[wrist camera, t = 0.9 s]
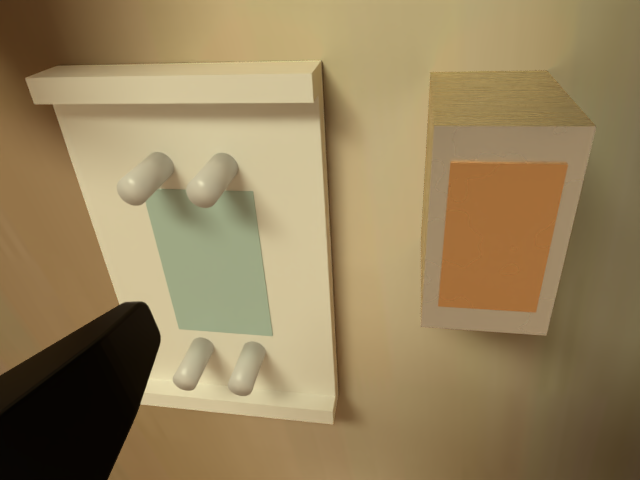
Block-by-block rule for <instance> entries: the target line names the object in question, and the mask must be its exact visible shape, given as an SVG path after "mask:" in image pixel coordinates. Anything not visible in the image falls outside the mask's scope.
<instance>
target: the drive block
mask: <svg viewBox="0 0 640 480" xmlns="http://www.w3.org/2000/svg"><path fill="white" fill-rule="evenodd" d="M595 130H596V126H595V124H594V123H593V122H592V121H591V120H590V119H589V118H588V116H587V115H586V114H585V113H584V112H583V111H582V110H581V108H580V107H579V106H578V105H577V104H576V103H575V102H574V101H573V99H572V98H571V97H570V96H569V95H568V94H567V93H566V91H565V90H564V89H563V88H562V87H561V86H560V85H559V83H558V82H557V81H556V80H555V79H554V78H553V77H552V76H551V74H550V73H549V72H548V71H547V70H532V71H468V72H430V88H429V105H428V123H427V140H426V157H425V174H424V191H423V209H422V226H421V327H431V328H445V329H459V330H474V331H488V332H502V333H517V334H531V335H545V336H546V335H547V331H548V327H549V323H550V319H551V314H552V310H553V306H554V302H555V298H556V293H557V289H558V285H559V281H560V277H561V272H562V268H563V264H564V260H565V256H566V252H567V247H568V243H569V239H570V235H571V231H572V226H573V222H574V218H575V214H576V210H577V205H578V201H579V197H580V193H581V189H582V185H583V180H584V176H585V172H586V168H587V164H588V159H589V155H590V151H591V147H592V143H593V138H594V134H595Z"/></svg>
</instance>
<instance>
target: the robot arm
mask: <svg viewBox="0 0 640 480" xmlns="http://www.w3.org/2000/svg"><path fill="white" fill-rule="evenodd" d="M160 342H161V335H160V331H159V329H158V326H157V324H156V322H155V320H154V317H153V315H152V313H151V310H150V308H149V306H148V305H147V304H146V303H145V302H142V301H132V302H124V303H122V304H120V305H118V306H117V307H115V308H113V309H112V310H110V311H108V312H106V313H105V314H103V315H101V316H100V317H98V318H96V319H95V320H93V321H91V322H90V323H88V324H86V325H85V326H83V327H81V328H80V329H78V330H76V331H74V332H73V333H71V334H69V335H68V336H66V337H64V338H63V339H61V340H59V341H58V342H56V343H54V344H53V345H51V346H49V347H48V348H46V349H44V350H42V351H41V352H39V353H37V354H36V355H34V356H32V357H31V358H29V359H27V360H26V361H24V362H22V363H21V364H19V365H17V366H16V367H14V368H12V369H10V370H9V371H7V372H5V373H4V374H2V375H0V480H108V478H109V475H110V473H111V471H112V469H113V466H114V464H115V462H116V460H117V457H118V455H119V453H120V451H121V449H122V446H123V444H124V442H125V440H126V437H127V435H128V433H129V431H130V428H131V426H132V424H133V422H134V419H135V417H136V414H137V412H138V409H139V406H140V404H141V401H142V398H143V395H144V392H145V389H146V386H147V383H148V380H149V377H150V374H151V371H152V368H153V365H154V362H155V359H156V356H157V353H158V350H159V347H160Z"/></svg>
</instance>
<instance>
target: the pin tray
mask: <svg viewBox="0 0 640 480" xmlns="http://www.w3.org/2000/svg"><path fill="white" fill-rule="evenodd" d="M25 80H26V82H27V85H28V88H29V91H30V94H31V97H32V99H33V102H34V104H53V107H54V110H55V113H56V116H57V119H58V122H59V125H60V128H61V131H62V134H63V137H64V140H65V143H66V146H67V149H68V152H69V155H70V158H71V161H72V164H73V167H74V170H75V173H76V176H77V179H78V182H79V185H80V188H81V191H82V194H83V197H84V200H85V203H86V206H87V209H88V212H89V215H90V218H91V221H92V224H93V227H94V230H95V233H96V236H97V239H98V242H99V245H100V248H101V251H102V254H103V257H104V260H105V263H106V266H107V269H108V272H109V275H110V278H111V281H112V284H113V287H114V290H115V293H116V296H117V299H118V302H119V305H120V304H122V303H124V302H132V301H142V302H145V303H146V304H147V305H148V306H149V308H150V310H151V313H152V315H153V317H154V320H155V322H156V324H157V326H158V329H159V331H160V335H161V342H160V347H159V350H158V353H157V356H156V359H155V362H154V365H153V368H152V371H151V374H150V377H149V380H148V383H147V386H146V389H145V392H144V395H143V398H142V401H141V404H143V405H152V406H162V407H171V408H181V409H190V410H200V411H209V412H219V413H229V414H238V415H248V416H257V417H267V418H276V419H286V420H295V421H305V422H314V423H324V424H334V418H335V412H336V407H337V401H338V395H339V393H338V374H337V354H336V335H335V315H334V296H333V276H332V256H331V237H330V217H329V198H328V178H327V159H326V139H325V120H324V100H323V81H322V61H321V60H312V61H263V62H213V63H164V64H115V65H65V66H55V67H52V68H50V69H47V70H44V71H42V72H39V73H37V74H34V75H31V76H29V77H26V78H25Z"/></svg>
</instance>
